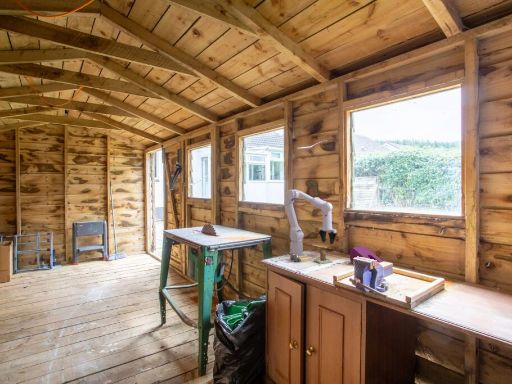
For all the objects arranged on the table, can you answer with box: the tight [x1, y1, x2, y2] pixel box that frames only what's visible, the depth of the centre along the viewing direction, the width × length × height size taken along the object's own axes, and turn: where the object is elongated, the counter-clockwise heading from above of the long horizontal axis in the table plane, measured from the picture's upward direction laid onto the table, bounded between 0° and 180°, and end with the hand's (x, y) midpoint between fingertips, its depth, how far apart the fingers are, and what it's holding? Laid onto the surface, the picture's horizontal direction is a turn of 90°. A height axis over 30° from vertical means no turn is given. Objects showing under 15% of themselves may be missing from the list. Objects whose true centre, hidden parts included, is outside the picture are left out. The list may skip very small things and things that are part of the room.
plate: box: [298, 254, 314, 263], centre depth 183 cm, size 8×8×2 cm
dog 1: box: [289, 253, 295, 262], centre depth 184 cm, size 3×3×4 cm
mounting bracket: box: [349, 245, 384, 264], centre depth 168 cm, size 10×8×18 cm
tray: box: [313, 257, 333, 265], centre depth 178 cm, size 8×8×2 cm
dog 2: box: [293, 255, 300, 263], centre depth 179 cm, size 3×3×4 cm
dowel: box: [319, 249, 327, 261], centre depth 178 cm, size 3×3×6 cm
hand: (327, 243), depth 187 cm, fingers open, 7 cm apart
